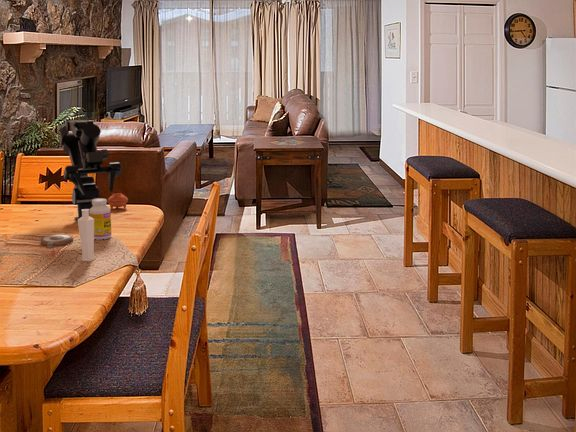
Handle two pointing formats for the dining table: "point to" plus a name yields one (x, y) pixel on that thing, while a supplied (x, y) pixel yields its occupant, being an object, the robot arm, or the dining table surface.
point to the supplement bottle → (101, 219)
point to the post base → (56, 240)
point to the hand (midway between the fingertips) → (98, 193)
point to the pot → (117, 200)
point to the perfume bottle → (86, 235)
